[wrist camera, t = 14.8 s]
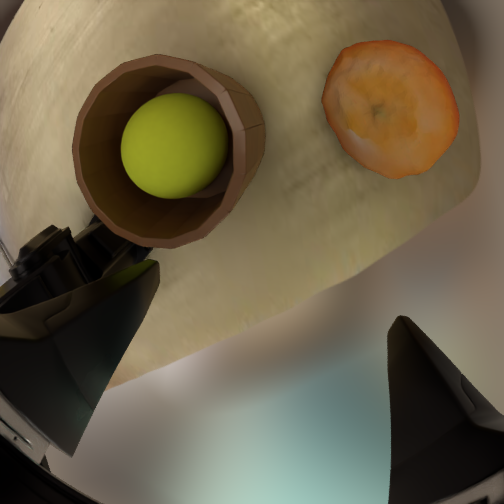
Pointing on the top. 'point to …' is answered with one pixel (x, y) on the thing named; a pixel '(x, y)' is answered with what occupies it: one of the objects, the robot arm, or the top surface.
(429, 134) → the fruit
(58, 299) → the robot arm
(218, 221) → the bucket
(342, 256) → the top surface
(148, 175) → the ball
